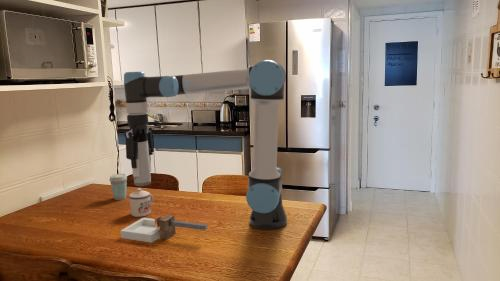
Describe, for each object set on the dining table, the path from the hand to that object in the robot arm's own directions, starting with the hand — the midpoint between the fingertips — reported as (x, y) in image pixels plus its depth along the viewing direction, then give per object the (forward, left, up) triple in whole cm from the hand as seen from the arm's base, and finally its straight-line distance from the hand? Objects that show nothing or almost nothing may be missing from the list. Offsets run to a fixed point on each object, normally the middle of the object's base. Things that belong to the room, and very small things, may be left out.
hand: (142, 173), depth 148 cm
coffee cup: (+41, -33, -24) cm, 58 cm away
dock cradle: (0, 0, -24) cm, 24 cm away
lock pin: (-16, 0, -20) cm, 26 cm away
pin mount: (-10, 0, -24) cm, 26 cm away
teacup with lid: (+16, -19, -24) cm, 35 cm away
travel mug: (0, 0, -4) cm, 4 cm away
